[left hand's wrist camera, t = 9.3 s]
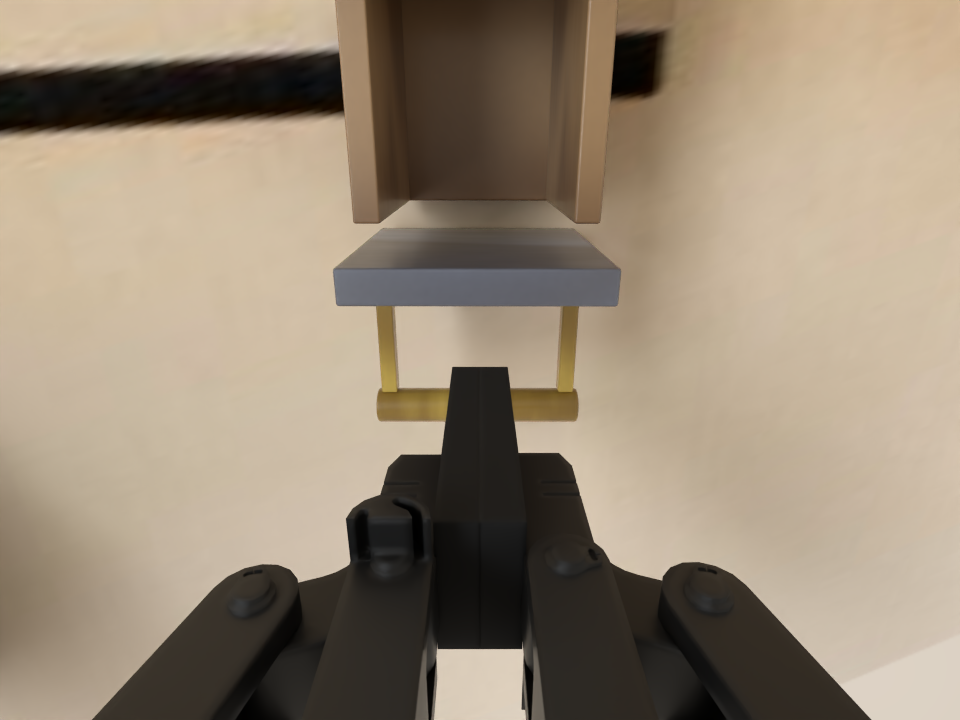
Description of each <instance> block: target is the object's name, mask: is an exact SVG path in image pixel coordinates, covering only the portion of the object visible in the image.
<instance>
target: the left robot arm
mask: <svg viewBox="0 0 960 720" xmlns="http://www.w3.org/2000/svg"><path fill="white" fill-rule="evenodd" d="M346 523H347V532H348V541H349V550H350V560H351V561H350V565H348V566H347V567H345V568H343V569H341V570H340V571H338V572H336V573H333V574H330V575H327V576H324V577H320V578H316V579H312V580H308V581H304V582H300V583H298V580H297V578H296V576H295V575H294V574H293V573H292V572H291V570H289V569H287V568H284V567H282V566H279V565H264V564H262V565H257V566H253V567H249V568H244V569H242V570H240V571H238V572H236V573H234V574H232V575H230V576H228V577H227V578H225V579H224V580H223V581H222V582H221V583H219V584H218V585H217V586H216V587H215V588H213V590H212V591H211V592H210V593H209V594H208V595H207V596H206V597H205V598H204V599H203V600H202V601H201V603H200V604H199V605H198V606H197V607H196V608H195V609H194V610H193V611H192V612H191V613H190V614H189V616H188V617H187V618H186V619H185V620H184V621H183V622H182V623H181V624H180V625H179V626H178V627H177V629H176V630H175V631H174V632H173V633H172V634H171V635H170V636H169V637H168V638H167V639H166V640H165V641H164V643H163V644H162V645H161V646H160V647H159V648H158V649H157V650H156V651H155V652H154V653H153V654H152V656H151V657H150V658H149V659H148V660H147V661H146V662H145V663H144V664H143V665H142V666H141V667H140V669H139V670H138V671H137V672H136V673H135V674H134V675H133V676H132V677H131V678H130V679H129V680H128V681H127V683H126V684H125V685H124V686H123V687H122V688H121V689H120V690H119V691H118V692H117V693H116V694H115V696H114V697H113V698H112V699H111V700H110V701H109V702H108V703H107V704H106V705H105V706H104V707H103V709H102V710H101V711H100V712H99V713H98V714H97V715H96V716H95V717H94V718H93V719H92V720H434V712H435V699H436V686H437V662H436V654H437V642H438V649H522V642H523V651H524V662H523V687H522V710H525V711H526V720H871V719H870V718H869V717H868V716H867V715H866V714H865V712H864V711H863V710H862V709H861V708H860V707H859V706H858V705H857V704H856V703H855V702H854V701H853V700H852V698H851V697H850V696H849V695H848V694H847V693H846V692H845V691H844V690H843V689H842V688H841V687H840V686H839V685H838V683H837V682H836V681H835V680H834V679H833V678H832V677H831V676H830V675H829V674H828V673H827V672H826V671H825V669H824V668H823V667H822V666H821V665H820V664H819V663H818V662H817V661H816V660H815V659H814V658H813V657H812V656H811V654H810V653H809V652H808V651H807V650H806V649H805V648H804V647H803V646H802V645H801V644H800V643H799V642H798V640H797V639H796V638H795V637H794V636H793V635H792V634H791V633H790V632H789V631H788V630H787V629H786V628H785V627H784V625H783V624H782V623H781V622H780V621H779V620H778V619H777V618H776V617H775V616H774V615H773V614H772V613H771V611H770V610H769V609H768V608H767V607H766V606H765V605H764V604H763V603H762V602H761V601H760V600H759V599H758V597H757V596H756V595H755V594H754V593H753V592H752V591H751V590H750V589H749V588H748V587H747V586H746V585H745V584H744V583H743V582H741V581H740V580H739V579H738V578H737V577H735V576H734V575H733V574H731V573H729V572H727V571H725V570H723V569H721V568H718V567H716V566H713V565H708V564H704V563H700V562H690V563H681V564H678V565H676V566H673V567H671V568H670V569H669V570H668V571H667V572H666V573H665V575H664V576H663V580H662V581H661V580H657V579H653V578H649V577H645V576H640V575H637V574H634V573H631V572H628V571H625V570H623V569H621V568H619V567H617V566H615V565H613V564H612V563H611V562H610V561H609V559H608V557H607V555H606V554H605V552H604V550H603V549H602V548H601V547H599V546H598V545H597V544H595V543H594V541H593V537H592V534H591V530H590V527H589V523H588V520H587V517H586V513H585V510H584V506H583V503H582V499H581V496H580V492H579V489H578V485H577V483H576V479H575V475H574V472H573V468H572V465H570V464H569V463H568V462H567V461H566V460H565V459H564V458H563V457H562V456H561V455H560V454H559V453H518V446H517V438H516V430H515V422H514V414H513V406H512V399H511V391H510V383H509V375H508V367H452V375H451V383H450V391H449V399H448V406H447V414H446V422H445V430H444V438H443V446H442V454H441V455H400V456H399V457H398V458H397V459H396V460H395V461H394V462H393V463H392V464H391V465H390V466H389V467H388V470H387V474H386V477H385V481H384V485H383V488H382V491H381V495H378V496H376V497H373V498H370V499H367V500H364V501H363V502H361V503H360V504H359V505H357V506H356V507H354V508H353V509H352V511H351V512H350V514H349V515H348V516H347V518H346Z"/></svg>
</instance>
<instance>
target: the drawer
mask: <svg viewBox="0 0 960 720" xmlns="http://www.w3.org/2000/svg"><path fill="white" fill-rule="evenodd" d="M335 4H336V16H337V28H338V40H339V52H340V64H341V77H342V89H343V101H344V113H345V125H346V137H347V149H348V162H349V174H350V186H351V198H352V210H353V222H354V223H380V222H382V221H383V220H384V219H386V218H387V217H388V216H390V215H391V214H392V213H394V212H395V211H396V210H398V209H399V208H400V207H402V206H403V205H404V204H406V203H407V202H408V201H410V200H547V201H548V202H549V203H551V204H552V205H553V206H554V207H556V208H557V209H558V210H559V211H561V212H562V213H563V214H564V215H566V216H567V217H568V218H569V219H571V220H572V221H573V222H574V223H576V224H598V223H600V221H601V209H602V197H603V185H604V172H605V160H606V147H607V135H608V123H609V110H610V98H611V85H612V73H613V61H614V48H615V36H616V23H617V11H618V0H335ZM333 276H334V286H335V296H336V304H337V305H338V306H376V311H377V325H378V339H379V353H380V367H381V381H382V388H380V389H379V391H378V395H377V416H378V419H379V421H423V422H446V414H447V406H448V399H449V391H450V388H399V374H398V357H397V340H396V323H395V306H561V311H560V328H559V345H558V363H557V380H556V387H557V388H510V391H511V399H512V406H513V414H514V422H575V421H576V420H577V417H578V394H577V391H576V389H574V388H573V382H574V368H575V354H576V340H577V326H578V311H579V306H617V305H618V299H619V288H620V278H621V269H620V268H618V267H617V266H616V265H615V264H614V263H613V262H612V261H610V260H609V259H608V258H607V257H606V256H605V255H603V254H602V253H601V252H600V251H599V250H598V249H597V248H595V247H594V246H593V245H592V244H591V243H590V242H588V241H587V240H586V239H585V238H584V237H583V236H582V235H580V234H579V233H578V232H577V231H576V230H575V229H538V228H383V229H381V230H380V231H379V232H378V233H376V234H375V235H374V236H373V237H372V238H370V239H369V240H368V241H367V242H366V243H364V244H363V245H362V246H361V247H359V248H358V249H357V250H356V251H355V252H353V253H352V254H351V255H350V256H349V257H347V258H346V259H345V260H344V261H343V262H341V263H340V264H339V265H338V266H337V267H335V268H334V269H333Z"/></svg>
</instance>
